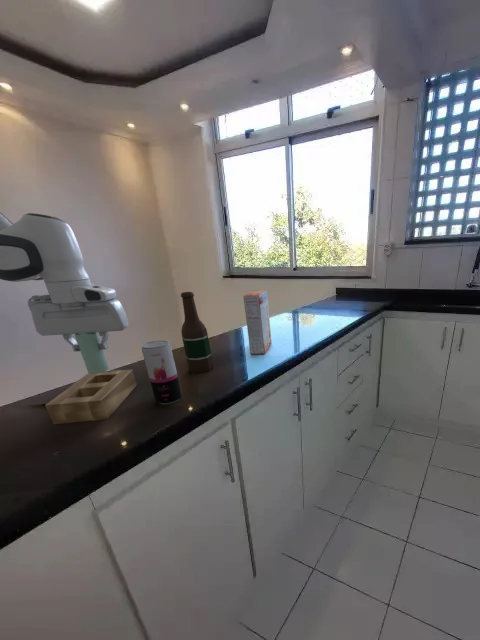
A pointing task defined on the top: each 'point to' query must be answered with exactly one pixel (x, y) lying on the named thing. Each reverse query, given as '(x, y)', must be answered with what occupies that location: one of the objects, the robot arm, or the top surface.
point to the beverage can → (162, 371)
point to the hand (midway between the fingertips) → (91, 349)
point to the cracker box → (258, 321)
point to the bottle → (92, 352)
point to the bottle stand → (92, 397)
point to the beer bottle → (195, 337)
